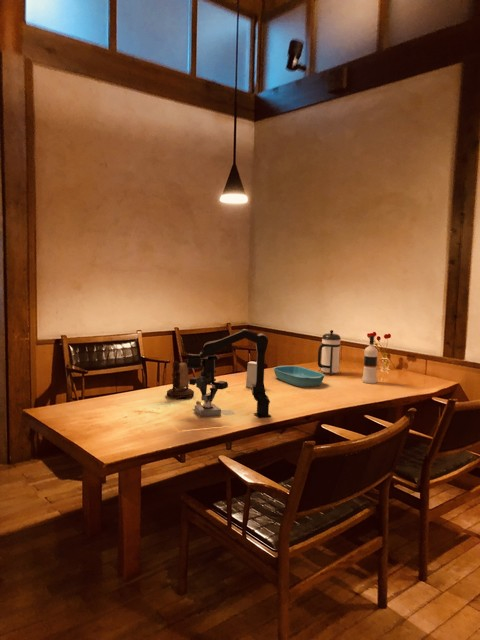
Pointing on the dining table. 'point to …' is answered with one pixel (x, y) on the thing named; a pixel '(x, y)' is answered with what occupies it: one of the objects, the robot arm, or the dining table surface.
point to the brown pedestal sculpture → (178, 385)
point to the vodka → (370, 363)
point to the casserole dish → (298, 376)
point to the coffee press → (329, 353)
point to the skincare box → (251, 374)
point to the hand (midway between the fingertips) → (207, 400)
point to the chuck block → (206, 410)
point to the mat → (227, 412)
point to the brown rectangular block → (206, 400)
